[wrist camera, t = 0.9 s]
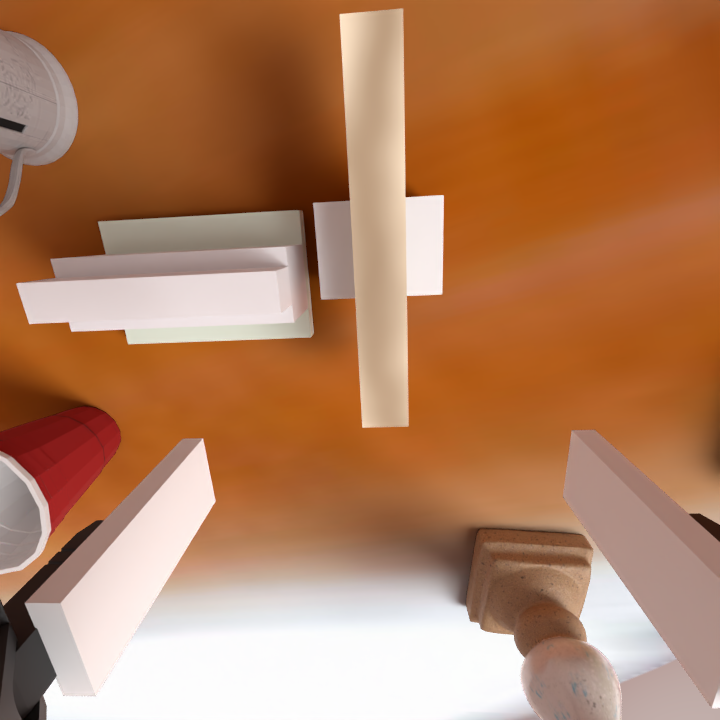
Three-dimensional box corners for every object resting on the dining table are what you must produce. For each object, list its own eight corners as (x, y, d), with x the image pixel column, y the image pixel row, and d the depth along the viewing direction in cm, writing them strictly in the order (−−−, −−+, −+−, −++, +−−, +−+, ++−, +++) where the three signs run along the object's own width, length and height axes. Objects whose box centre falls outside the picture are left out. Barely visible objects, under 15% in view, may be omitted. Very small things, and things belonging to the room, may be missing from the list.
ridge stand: (302, 210, 31) (268, 201, 21) (314, 332, 34) (288, 372, 24) (110, 222, 32) (-6, 217, 22) (138, 339, 35) (47, 379, 25)
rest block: (429, 203, 30) (443, 195, 23) (429, 281, 32) (442, 294, 25) (327, 209, 30) (313, 202, 24) (333, 285, 32) (321, 299, 26)
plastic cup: (98, 360, 36) (-35, 419, 24) (167, 452, 38) (77, 544, 27) (14, 407, 38) (-145, 483, 26) (85, 491, 40) (-30, 593, 29)
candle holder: (564, 614, 42) (776, 1052, 20) (464, 607, 43) (559, 1028, 20) (586, 534, 39) (874, 954, 16) (477, 527, 39) (609, 928, 17)
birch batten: (399, 38, 21) (403, 8, 18) (405, 406, 28) (408, 426, 25) (345, 43, 21) (339, 14, 18) (364, 407, 28) (362, 427, 25)
